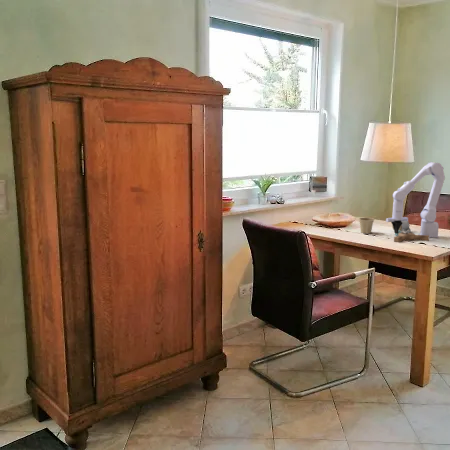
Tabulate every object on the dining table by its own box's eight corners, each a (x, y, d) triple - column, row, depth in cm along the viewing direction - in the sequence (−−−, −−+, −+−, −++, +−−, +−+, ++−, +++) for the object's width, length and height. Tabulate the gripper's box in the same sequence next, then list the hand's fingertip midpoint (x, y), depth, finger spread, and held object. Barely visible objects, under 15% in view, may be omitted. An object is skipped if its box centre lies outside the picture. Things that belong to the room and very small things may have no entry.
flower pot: (354, 232, 305) (355, 218, 304) (363, 230, 311) (364, 217, 310) (367, 234, 298) (368, 220, 297) (376, 232, 304) (377, 219, 303)
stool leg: (408, 238, 286) (409, 232, 285) (405, 238, 286) (405, 232, 285) (398, 234, 298) (398, 228, 298) (394, 234, 298) (395, 228, 297)
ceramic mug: (390, 231, 309) (391, 219, 308) (398, 229, 314) (399, 218, 313) (405, 234, 301) (406, 222, 299) (413, 232, 306) (414, 220, 304)
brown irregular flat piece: (422, 237, 291) (423, 232, 291) (432, 242, 279) (432, 236, 278) (386, 237, 291) (387, 232, 290) (395, 242, 278) (395, 237, 277)
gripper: (403, 209, 298) (401, 231, 301) (383, 210, 293) (381, 232, 296) (411, 211, 292) (409, 233, 294) (391, 212, 287) (389, 234, 289)
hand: (396, 233), depth 295 cm, fingers closed
